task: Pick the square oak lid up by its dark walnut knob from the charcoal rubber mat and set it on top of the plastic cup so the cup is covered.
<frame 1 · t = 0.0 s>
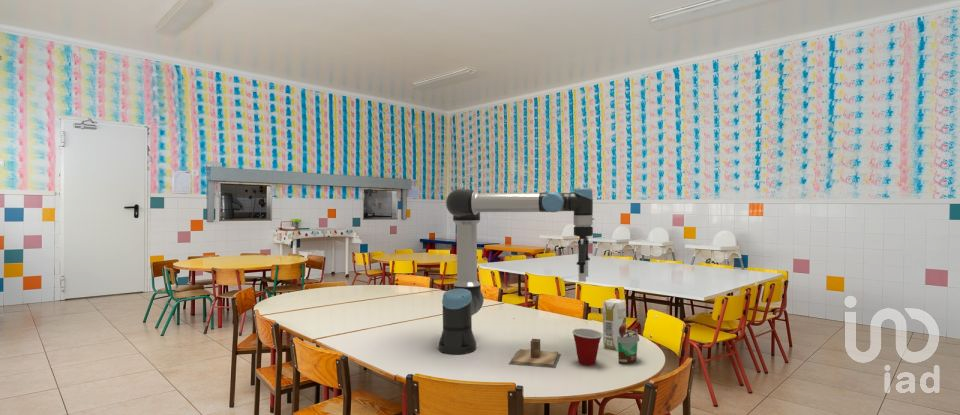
hand: (583, 278, 203), 28 cm above the table, tool pointing down, fingers open, 13 cm apart
juice carton: (614, 347, 204), on the table
lid: (535, 359, 188), point 1 cm above the table, touching mat
food container: (630, 361, 186), on the table
mat: (535, 360, 188), on the table
plastic cup: (587, 365, 183), on the table
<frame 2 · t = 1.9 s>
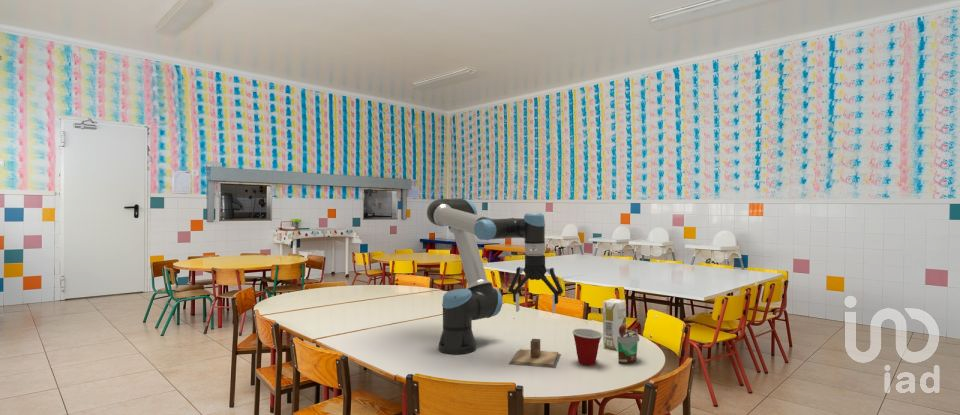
hand: (535, 311, 188), 18 cm above the table, tool pointing down, fingers open, 13 cm apart
nothing on the table moved.
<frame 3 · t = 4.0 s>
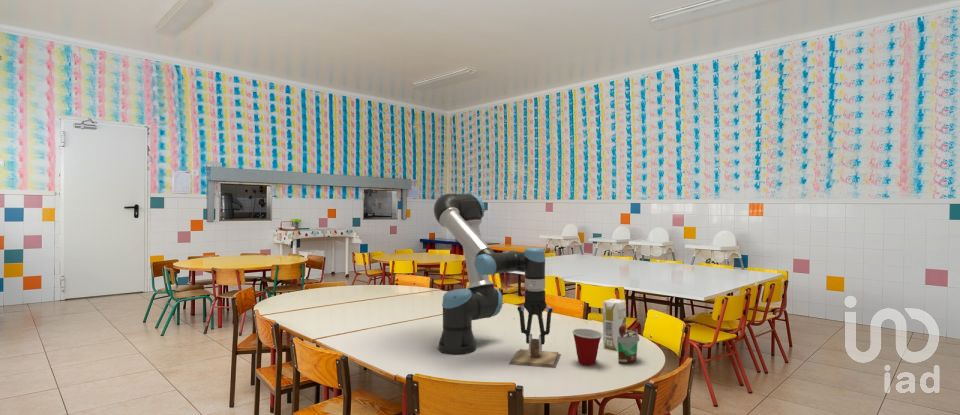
hand: (535, 352, 188), 3 cm above the table, tool pointing down, fingers closed on lid, 3 cm apart
lid: (535, 359, 188), point 1 cm above the table, touching gripper, mat
everything else where it was.
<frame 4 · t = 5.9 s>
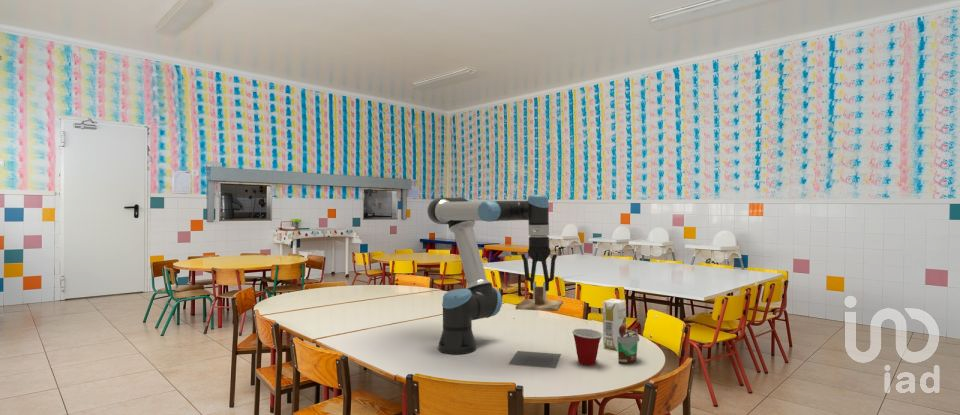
hand: (539, 299, 187), 23 cm above the table, tool pointing down, fingers closed on lid, 3 cm apart
lid: (539, 306, 187), point 20 cm above the table, touching gripper
everything else where it was.
when the fingers open (16 cm above the table, at t = 8.3 s): lid drops 2 cm, resting on plastic cup.
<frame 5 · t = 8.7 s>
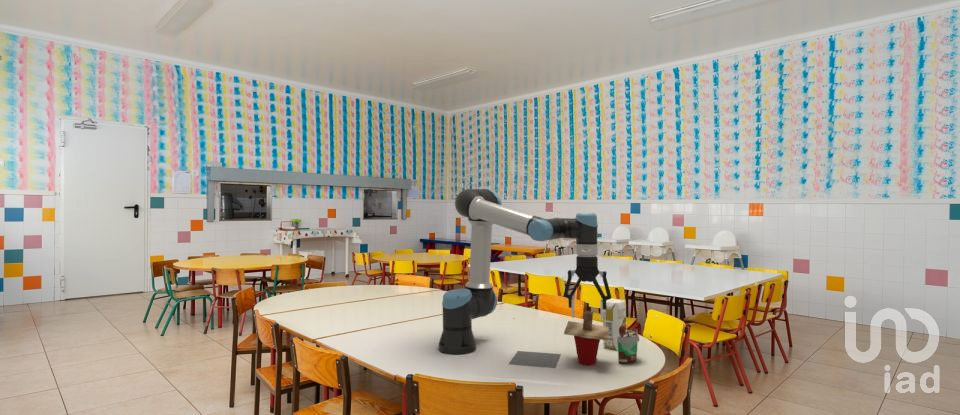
hand: (587, 317, 183), 17 cm above the table, tool pointing down, fingers open, 9 cm apart
lid: (587, 331, 183), point 12 cm above the table, touching plastic cup
plastic cup: (587, 365, 183), on the table, touching lid
everything else where it was.
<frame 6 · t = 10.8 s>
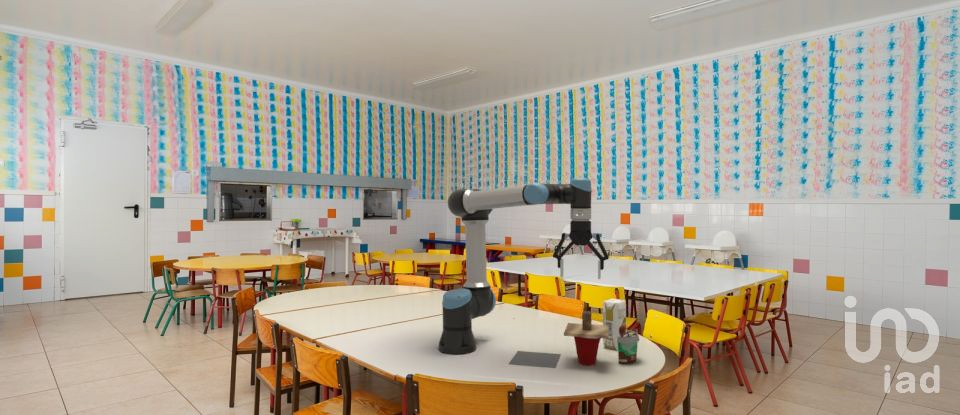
hand: (580, 277, 186), 31 cm above the table, tool pointing down, fingers open, 13 cm apart
nothing on the table moved.
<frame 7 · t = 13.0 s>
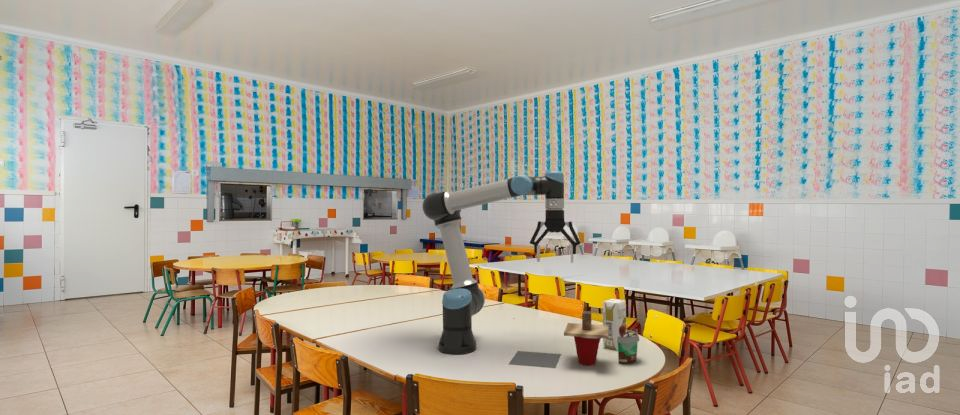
hand: (555, 262, 204), 35 cm above the table, tool pointing down, fingers open, 13 cm apart
nothing on the table moved.
at the end: lid 0.2 cm from the target spot, point 12.0 cm above the table; lid 0.2 cm from the plastic cup (horizontally); lid tilted 0° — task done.
